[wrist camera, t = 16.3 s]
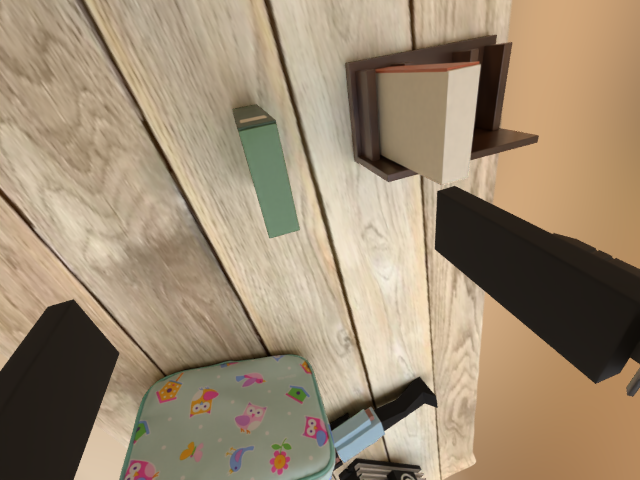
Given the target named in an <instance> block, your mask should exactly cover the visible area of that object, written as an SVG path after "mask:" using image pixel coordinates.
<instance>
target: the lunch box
mask: <svg viewBox="0 0 640 480" xmlns="http://www.w3.org/2000/svg"><path fill="white" fill-rule="evenodd" d="M334 466H335V445H334V439H333V436H332V432H331V428H330V424H329V421H328V418H327V414H326V411H325V408H324V404H323V401H322V398H321V395H320V391H319V387H318V384H317V381H316V377H315V374H314V371H313V369H312V367H311V365H310V363H309V362H308V361H307V360H306V359H305V358H303V357H301V356H298V355H277V356H270V357H264V358H258V359H251V360H242V361H232V360H231V361H226V362H222V363H219V364H216V365H212V366H207V367H202V368H196V369H189V370H184V371H180V372H177V373H174V374H171V375H169V376H166V377H164V378H162V379H161V380H159V381H157V382H156V383H155V384H154V385H153V386H152V387H150V389H149V390H148V391H147V392H146V394H145V395H144V397H143V399H142V401H141V404H140V407H139V410H138V413H137V417H136V420H135V424H134V428H133V432H132V436H131V439H130V443H129V447H128V450H127V453H126V457H125V460H124V464H123V467H122V471H121V475H120V479H119V480H332V473H333V469H334Z"/></svg>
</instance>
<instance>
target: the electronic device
mask: <svg viewBox="0 0 640 480" xmlns="http://www.w3.org/2000/svg"><path fill="white" fill-rule="evenodd" d="M420 471H421V468H420V466H417V465H408V464H400V463H391V462H382V461H373V460H365V459H355V460H354V461H353V462H352V463H351V464H350V465H349V466H348V469H345V470H344V471H343V472H342V473H341V474H340V475H339V478H340V480H426V478H421V477H422V476H423V475H424V474H423V473H418V472H420Z"/></svg>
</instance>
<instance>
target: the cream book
mask: <svg viewBox="0 0 640 480" xmlns="http://www.w3.org/2000/svg"><path fill="white" fill-rule="evenodd" d="M480 67H481V64H479V61H478V62H461V63H444V64H426V65H409V66H392V67H385V68H380V69H375V70H376V90H377V110H378V129H379V149H380V155H382V156H384V157H386V158H388V159H390V160H392V161H394V162H396V163H398V164H400V165H402V166H404V167H406V168H408V169H410V170H412V171H414V172H416V173H418V174H420V175H422V176H424V177H426V178H428V179H430V180H432V181H434V182H436V183H438V184H440V185H444V184H448V183H452V182H455V181H459V180H463V179H466V178H468V175H469V166H470V157H471V148H472V139H473V130H474V121H475V112H476V103H477V94H478V85H479V76H480Z"/></svg>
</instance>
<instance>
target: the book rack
mask: <svg viewBox="0 0 640 480" xmlns="http://www.w3.org/2000/svg"><path fill="white" fill-rule="evenodd" d="M496 38H497V35H491V36H485V37H480V38H475V39H469V40H464V41H459V42H454V43H448V44H443V45H438V46H433V47H427V48H422V49H417V50H412V51H406V52H401V53H396V54H391V55H385V56H380V57H375V58H369V59H364V60H359V61H354V62H348V63H345V64H346V75H347V85H348V95H349V106H350V116H351V127H352V137H353V147H354V158H355V162H357V163H358V164H359V163H360V164H361V165H363V166H364V167H366V168H367V169H369V170H370V171H372V172H374V173H375V174H377V175H378V176H380V177H381V178H383V179H384V180H386V181H388V182H390V181H394V180H398V179H401V178H405V177H409V176H413V175H416V174H418V173H416V172H414V171H412V170H410V169H408V168H406V167H404V166H402V165H400V164H398V163H396V162H394V161H392V160H390V159H388V158H386V157H384V156H382V155H380V149H379V129H378V110H377V90H376V70H375V69H380V68H385V67H392V66H409V65H426V64H444V63H461V62H478V61H479V64H481V67H480V76H479V85H478V94H477V103H476V112H475V121H474V130H473V139H472V148H471V157H470V160H473V159H477V158H481V157H484V156H488V155H492V154H496V153H499V152H503V151H506V150H511V149H514V148H518V147H522V146H526V145H530V144H533V143H537V141H538V137H539V136H538V135H533V134H528V133H522V132H517V131H512V130H506V129H501V128H499V126H500V119H501V113H502V106H503V100H504V93H505V86H506V79H507V73H508V67H509V61H510V54H511V47H512V42H511V43H501V44H496Z"/></svg>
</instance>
